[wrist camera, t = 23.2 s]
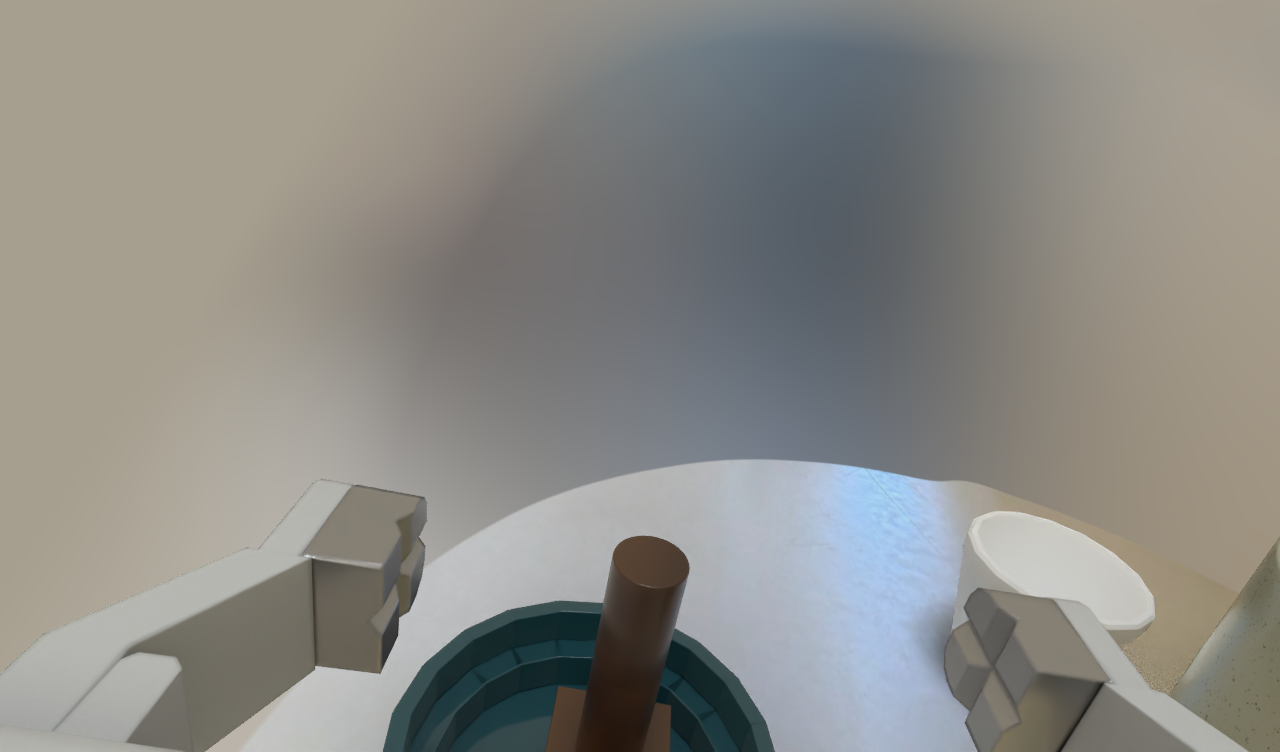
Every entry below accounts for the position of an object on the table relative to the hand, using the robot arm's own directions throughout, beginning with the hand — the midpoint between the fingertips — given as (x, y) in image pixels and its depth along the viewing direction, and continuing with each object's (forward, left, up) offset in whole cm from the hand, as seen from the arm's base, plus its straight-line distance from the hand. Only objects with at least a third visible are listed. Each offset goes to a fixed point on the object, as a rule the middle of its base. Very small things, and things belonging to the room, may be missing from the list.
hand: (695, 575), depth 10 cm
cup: (+21, +29, -25) cm, 44 cm away
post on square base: (-1, +12, -24) cm, 27 cm away
